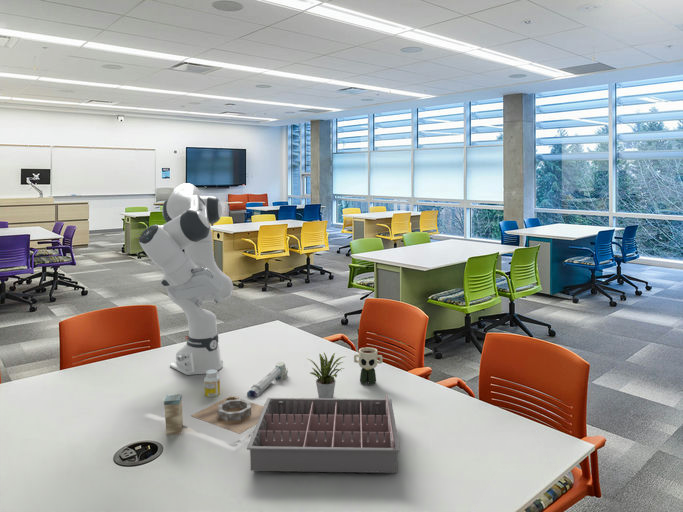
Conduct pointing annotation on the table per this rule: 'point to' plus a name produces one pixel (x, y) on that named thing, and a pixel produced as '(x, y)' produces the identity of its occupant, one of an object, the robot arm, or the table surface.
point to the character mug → (367, 364)
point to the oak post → (173, 414)
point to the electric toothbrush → (268, 379)
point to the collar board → (230, 424)
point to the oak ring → (231, 398)
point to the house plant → (326, 376)
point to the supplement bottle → (212, 383)
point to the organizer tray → (325, 436)
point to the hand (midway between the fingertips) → (209, 303)
